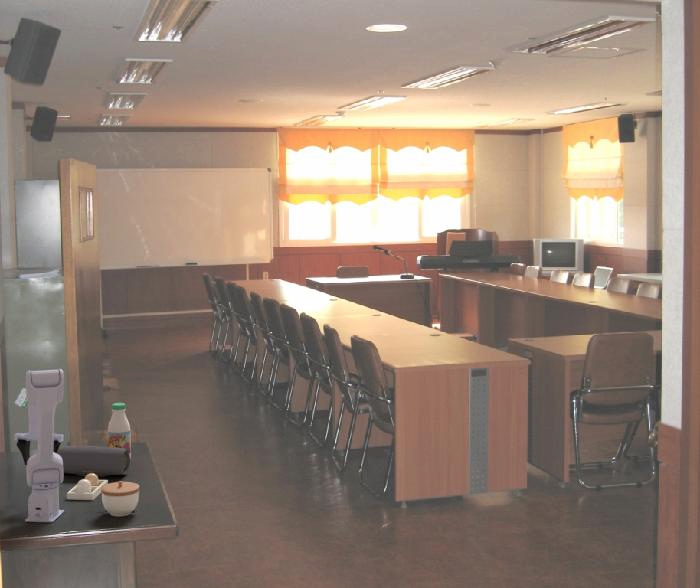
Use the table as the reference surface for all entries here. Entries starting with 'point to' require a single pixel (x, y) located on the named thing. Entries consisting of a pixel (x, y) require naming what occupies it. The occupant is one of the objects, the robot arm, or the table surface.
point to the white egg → (84, 486)
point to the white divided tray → (86, 496)
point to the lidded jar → (120, 497)
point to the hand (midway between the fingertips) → (39, 464)
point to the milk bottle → (119, 428)
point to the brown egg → (92, 479)
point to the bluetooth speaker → (94, 460)
